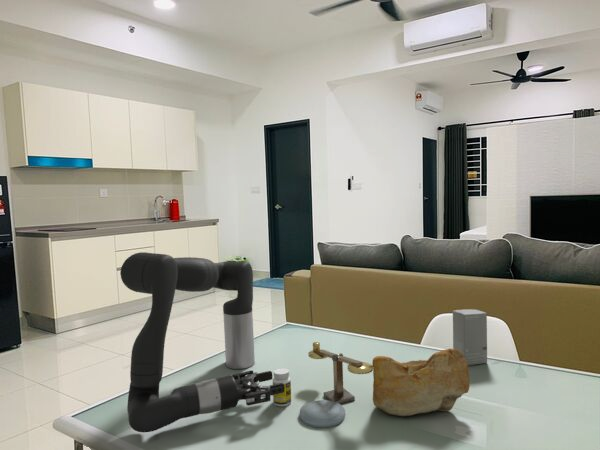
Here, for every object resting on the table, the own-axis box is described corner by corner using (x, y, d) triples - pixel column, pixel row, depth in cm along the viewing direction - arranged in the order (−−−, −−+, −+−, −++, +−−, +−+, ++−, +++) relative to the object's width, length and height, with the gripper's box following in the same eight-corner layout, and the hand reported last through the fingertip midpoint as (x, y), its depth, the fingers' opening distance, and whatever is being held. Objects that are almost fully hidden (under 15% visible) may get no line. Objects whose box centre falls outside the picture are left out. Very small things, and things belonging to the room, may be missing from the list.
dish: (292, 411, 110) (292, 405, 110) (331, 401, 114) (331, 396, 114) (312, 432, 100) (311, 426, 100) (353, 420, 104) (353, 414, 104)
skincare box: (464, 366, 133) (464, 315, 132) (451, 358, 140) (450, 309, 139) (489, 363, 135) (488, 312, 134) (474, 355, 142) (474, 307, 141)
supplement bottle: (289, 407, 112) (288, 375, 111) (271, 406, 113) (269, 374, 112) (293, 398, 116) (292, 367, 116) (276, 397, 117) (274, 367, 117)
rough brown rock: (457, 392, 118) (453, 336, 119) (476, 418, 102) (471, 354, 102) (370, 395, 120) (366, 340, 121) (374, 421, 104) (370, 357, 104)
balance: (305, 380, 127) (304, 335, 126) (324, 376, 130) (322, 332, 129) (357, 425, 102) (355, 369, 101) (379, 419, 104) (377, 364, 103)
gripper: (222, 391, 100) (287, 376, 107) (208, 369, 113) (267, 357, 120) (223, 423, 101) (289, 406, 107) (209, 397, 114) (268, 384, 120)
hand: (277, 380), depth 114 cm, fingers open, 8 cm apart
